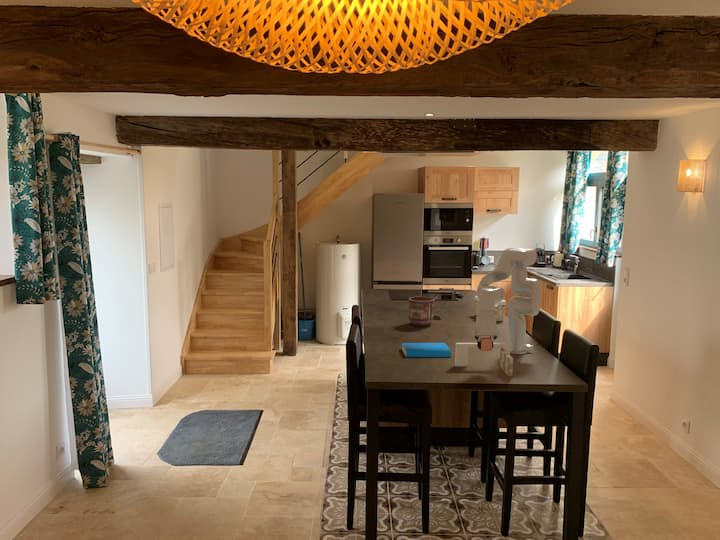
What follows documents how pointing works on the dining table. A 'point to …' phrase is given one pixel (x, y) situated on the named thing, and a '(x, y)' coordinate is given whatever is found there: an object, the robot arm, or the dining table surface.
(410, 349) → the book
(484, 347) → the salmon pink cube
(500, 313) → the storage basket
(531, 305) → the robot arm
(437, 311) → the dining table surface
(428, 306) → the pottery
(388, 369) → the dining table surface
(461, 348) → the wall frame
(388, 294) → the dining table surface
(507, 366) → the beige wavy panel
